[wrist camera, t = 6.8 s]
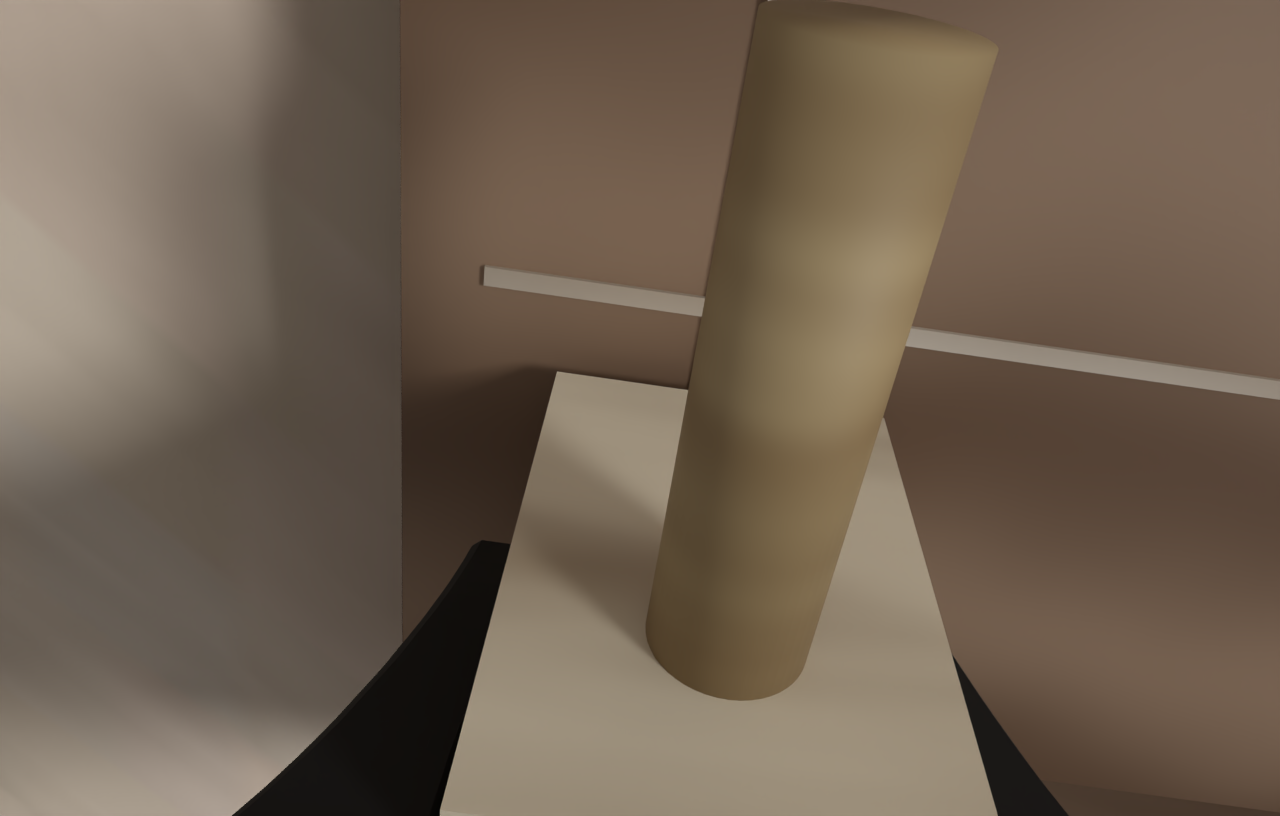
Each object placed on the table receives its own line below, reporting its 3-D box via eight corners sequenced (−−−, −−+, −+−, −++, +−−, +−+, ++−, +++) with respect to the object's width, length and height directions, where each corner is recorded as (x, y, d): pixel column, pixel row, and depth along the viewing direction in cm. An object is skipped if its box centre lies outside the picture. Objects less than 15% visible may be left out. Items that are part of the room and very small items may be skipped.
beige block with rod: (795, 696, 14) (843, 1185, 9) (528, 660, 14) (430, 1132, 9) (1023, -26, 9) (1426, 191, 4) (601, -89, 9) (461, 48, 4)
